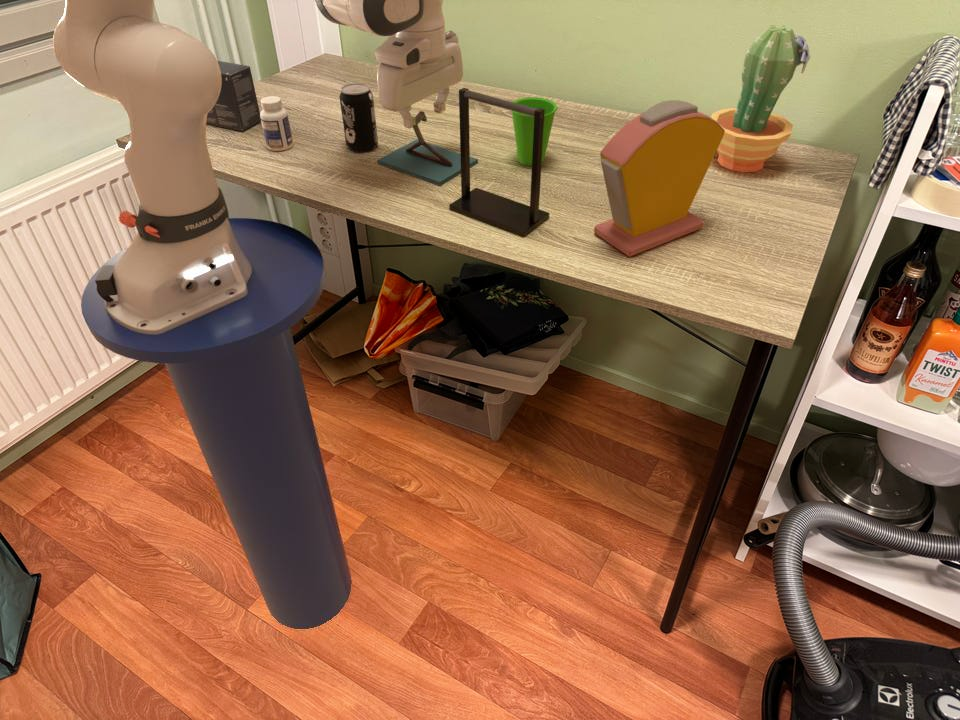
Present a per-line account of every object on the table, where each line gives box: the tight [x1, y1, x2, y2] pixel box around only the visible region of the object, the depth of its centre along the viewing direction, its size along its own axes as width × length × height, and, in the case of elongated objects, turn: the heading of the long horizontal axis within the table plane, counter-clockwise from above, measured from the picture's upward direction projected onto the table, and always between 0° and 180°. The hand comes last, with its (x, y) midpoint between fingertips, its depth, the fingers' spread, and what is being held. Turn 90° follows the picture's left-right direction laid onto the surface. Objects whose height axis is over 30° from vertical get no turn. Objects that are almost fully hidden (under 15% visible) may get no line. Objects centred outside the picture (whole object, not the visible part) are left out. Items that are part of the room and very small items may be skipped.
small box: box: [206, 60, 261, 132], centre depth 147 cm, size 13×7×12 cm, turn 65°
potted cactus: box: [710, 24, 811, 173], centre depth 127 cm, size 15×15×25 cm
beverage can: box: [339, 82, 379, 153], centre depth 137 cm, size 7×7×12 cm
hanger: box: [406, 110, 452, 166], centre depth 131 cm, size 3×12×10 cm, turn 53°
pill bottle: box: [260, 95, 294, 152], centre depth 138 cm, size 5×5×10 cm
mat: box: [377, 138, 479, 187], centre depth 135 cm, size 12×16×1 cm
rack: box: [448, 87, 550, 238], centre depth 113 cm, size 8×16×20 cm, turn 53°
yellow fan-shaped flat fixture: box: [593, 99, 725, 258], centre depth 108 cm, size 22×9×22 cm, turn 123°
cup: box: [511, 96, 558, 167], centre depth 132 cm, size 9×9×11 cm
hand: (425, 119), depth 129 cm, fingers open, 7 cm apart
